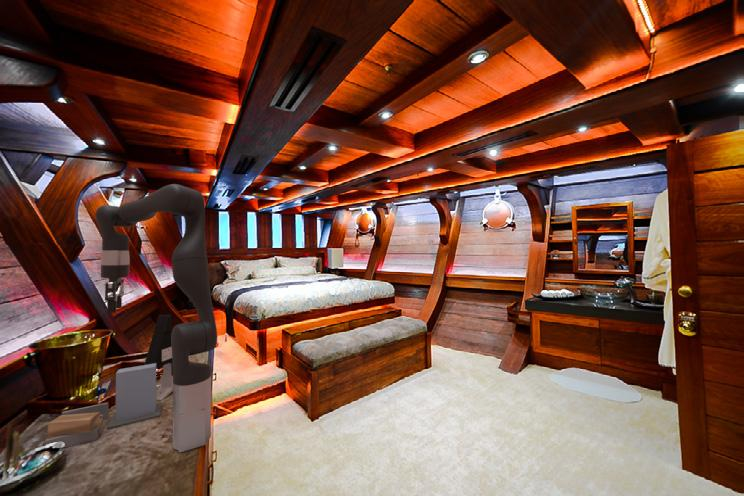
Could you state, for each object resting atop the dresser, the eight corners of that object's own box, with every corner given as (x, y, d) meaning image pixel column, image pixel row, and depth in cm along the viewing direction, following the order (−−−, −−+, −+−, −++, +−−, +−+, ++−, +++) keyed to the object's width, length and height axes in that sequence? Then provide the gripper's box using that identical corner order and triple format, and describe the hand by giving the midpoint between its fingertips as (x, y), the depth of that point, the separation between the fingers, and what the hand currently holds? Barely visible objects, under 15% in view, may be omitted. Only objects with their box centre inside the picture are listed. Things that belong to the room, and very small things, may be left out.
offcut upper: (89, 432, 83) (89, 419, 83) (47, 436, 81) (48, 423, 81) (100, 424, 87) (100, 412, 87) (60, 427, 85) (60, 415, 85)
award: (154, 403, 105) (154, 318, 106) (142, 402, 106) (142, 318, 107) (188, 385, 120) (189, 311, 121) (178, 384, 121) (178, 310, 122)
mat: (159, 416, 96) (159, 415, 96) (106, 429, 89) (106, 427, 89) (161, 404, 104) (162, 402, 104) (113, 415, 98) (113, 413, 98)
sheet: (154, 412, 98) (155, 366, 98) (115, 421, 92) (115, 373, 93) (156, 407, 101) (156, 363, 102) (118, 415, 96) (118, 369, 96)
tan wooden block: (97, 439, 85) (97, 421, 85) (44, 452, 79) (44, 433, 79) (108, 417, 96) (108, 402, 96) (62, 428, 90) (62, 411, 90)
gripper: (125, 264, 98) (124, 313, 98) (132, 262, 110) (132, 306, 110) (95, 264, 94) (94, 315, 94) (106, 262, 106) (105, 307, 106)
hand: (114, 310), depth 102 cm, fingers open, 8 cm apart
